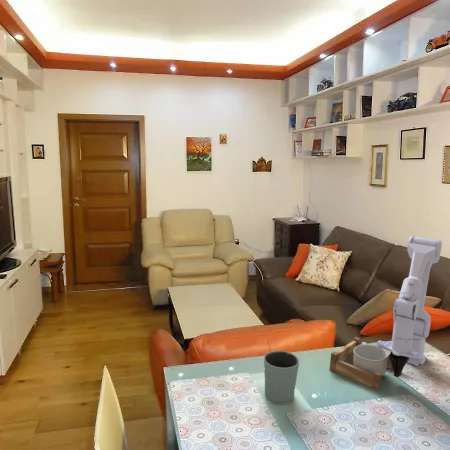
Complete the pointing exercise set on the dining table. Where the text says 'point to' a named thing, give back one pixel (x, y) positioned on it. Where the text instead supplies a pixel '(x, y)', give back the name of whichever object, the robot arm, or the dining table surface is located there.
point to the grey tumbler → (280, 376)
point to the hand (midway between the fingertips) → (397, 375)
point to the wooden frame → (351, 371)
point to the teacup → (370, 358)
